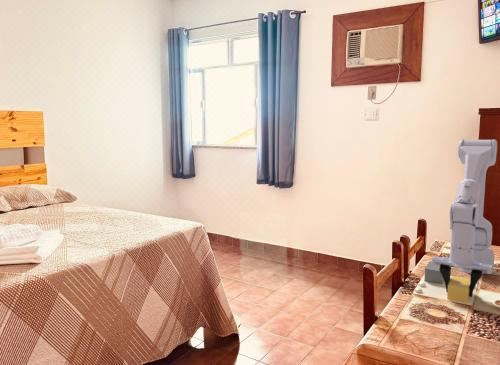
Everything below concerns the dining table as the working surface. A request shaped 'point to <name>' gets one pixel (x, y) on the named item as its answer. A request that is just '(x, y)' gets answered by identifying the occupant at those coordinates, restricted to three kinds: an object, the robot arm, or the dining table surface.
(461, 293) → the top brick
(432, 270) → the base brick
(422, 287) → the baseplate
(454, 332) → the dining table surface
